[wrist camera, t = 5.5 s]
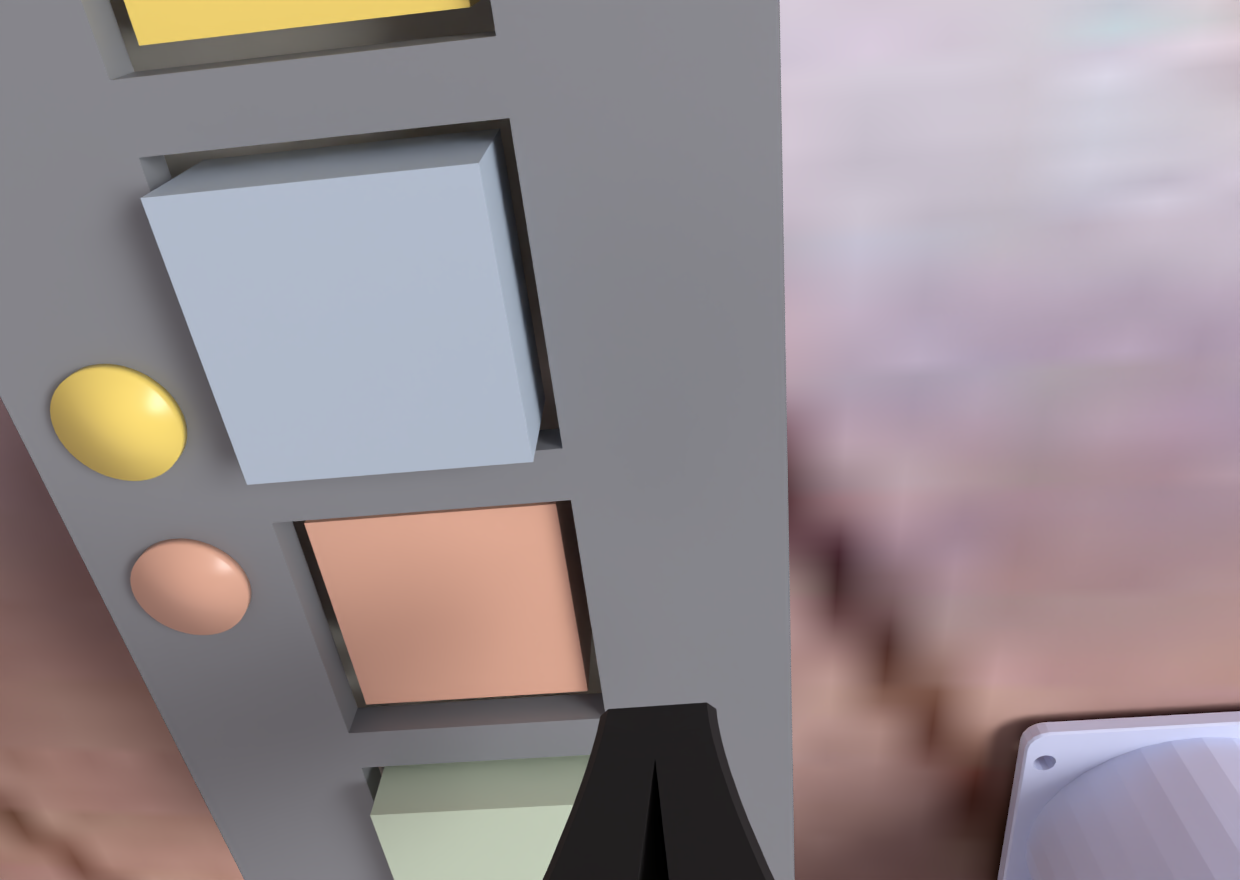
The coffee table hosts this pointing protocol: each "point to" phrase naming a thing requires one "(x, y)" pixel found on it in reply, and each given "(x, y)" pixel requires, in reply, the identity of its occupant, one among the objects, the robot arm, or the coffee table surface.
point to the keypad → (561, 470)
